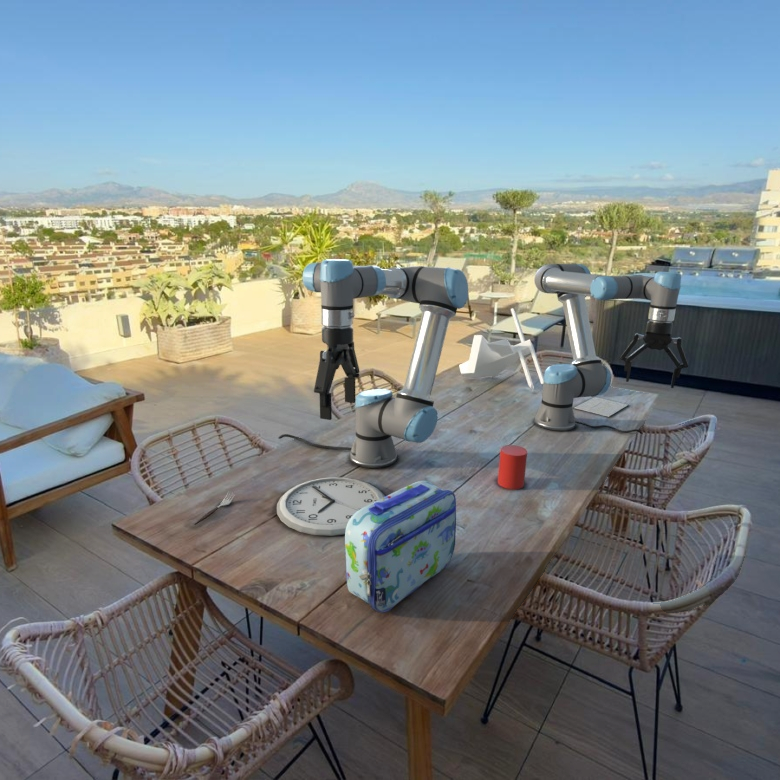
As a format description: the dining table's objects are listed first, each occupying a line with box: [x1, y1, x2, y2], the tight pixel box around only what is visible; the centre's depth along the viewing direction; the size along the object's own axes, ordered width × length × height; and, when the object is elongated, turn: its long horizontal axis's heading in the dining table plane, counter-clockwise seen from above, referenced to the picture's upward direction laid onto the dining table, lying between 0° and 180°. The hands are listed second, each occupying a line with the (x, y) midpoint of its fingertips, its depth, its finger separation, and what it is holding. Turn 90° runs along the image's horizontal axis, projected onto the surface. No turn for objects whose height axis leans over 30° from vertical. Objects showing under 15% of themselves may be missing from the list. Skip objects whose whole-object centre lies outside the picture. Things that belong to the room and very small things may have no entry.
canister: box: [497, 444, 528, 490], centre depth 155 cm, size 8×8×11 cm
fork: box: [193, 490, 237, 526], centre depth 138 cm, size 3×16×2 cm, turn 160°
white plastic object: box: [458, 307, 544, 393], centre depth 255 cm, size 37×45×31 cm
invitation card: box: [573, 396, 629, 418], centre depth 226 cm, size 21×1×15 cm
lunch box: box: [344, 480, 457, 614], centre depth 109 cm, size 26×11×21 cm, turn 135°
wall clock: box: [276, 476, 386, 537], centre depth 142 cm, size 30×2×30 cm
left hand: (338, 410), depth 131 cm, fingers open, 13 cm apart
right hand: (649, 384), depth 175 cm, fingers open, 13 cm apart
